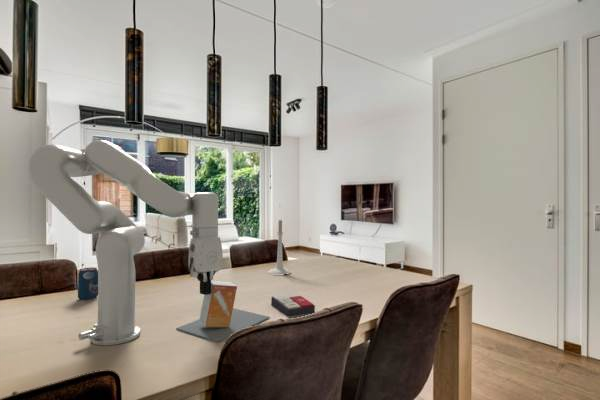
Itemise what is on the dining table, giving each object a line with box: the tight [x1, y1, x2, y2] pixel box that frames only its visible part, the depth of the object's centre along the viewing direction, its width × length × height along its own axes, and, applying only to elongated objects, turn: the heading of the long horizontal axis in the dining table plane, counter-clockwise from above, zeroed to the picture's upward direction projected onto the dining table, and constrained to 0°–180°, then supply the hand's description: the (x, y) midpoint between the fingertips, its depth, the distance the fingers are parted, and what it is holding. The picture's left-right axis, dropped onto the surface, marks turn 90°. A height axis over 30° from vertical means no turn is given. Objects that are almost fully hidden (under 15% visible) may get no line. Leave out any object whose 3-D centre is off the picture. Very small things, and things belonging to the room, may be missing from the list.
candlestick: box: [267, 219, 292, 275], centre depth 187 cm, size 13×13×30 cm
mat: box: [175, 307, 270, 344], centre depth 109 cm, size 24×18×1 cm
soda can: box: [77, 267, 98, 302], centre depth 134 cm, size 7×7×12 cm
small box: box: [198, 280, 238, 327], centre depth 106 cm, size 8×6×13 cm
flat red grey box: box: [270, 292, 316, 318], centre depth 125 cm, size 11×4×15 cm
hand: (205, 293), depth 101 cm, fingers closed
